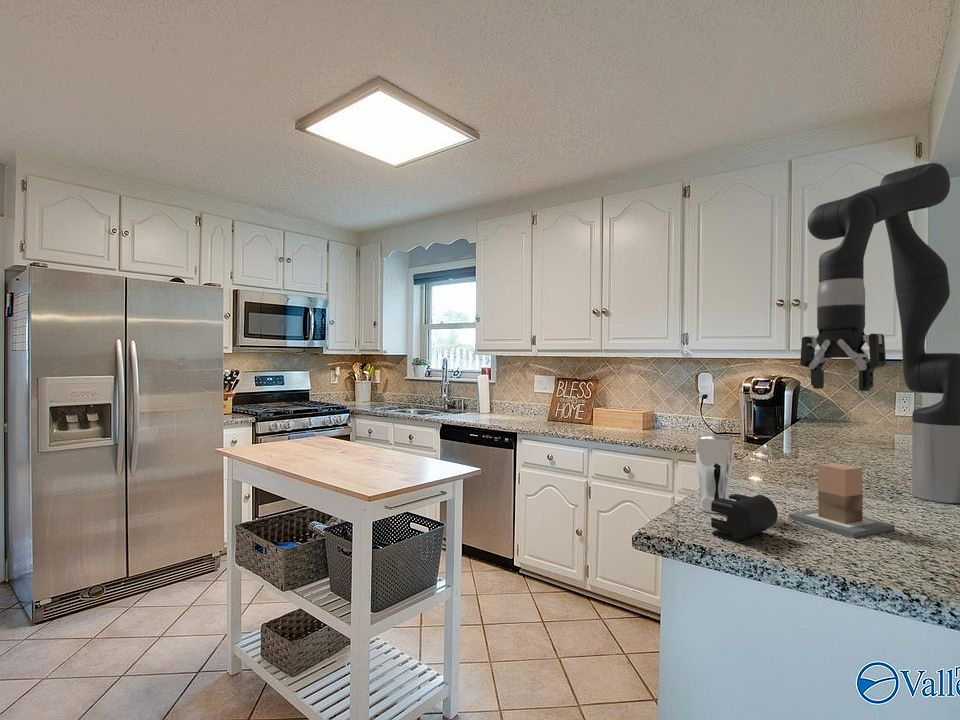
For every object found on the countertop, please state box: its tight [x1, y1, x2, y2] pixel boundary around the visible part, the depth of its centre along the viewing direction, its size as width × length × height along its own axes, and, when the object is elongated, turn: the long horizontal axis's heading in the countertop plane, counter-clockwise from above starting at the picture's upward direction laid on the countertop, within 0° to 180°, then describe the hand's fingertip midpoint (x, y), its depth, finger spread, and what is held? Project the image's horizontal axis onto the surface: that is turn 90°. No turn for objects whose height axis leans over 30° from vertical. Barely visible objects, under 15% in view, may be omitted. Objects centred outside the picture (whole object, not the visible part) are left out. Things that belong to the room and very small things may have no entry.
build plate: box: [788, 509, 896, 539], centre depth 98 cm, size 12×12×1 cm
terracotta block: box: [817, 462, 863, 497], centre depth 98 cm, size 5×5×5 cm
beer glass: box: [695, 434, 734, 515], centre depth 107 cm, size 7×7×15 cm
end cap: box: [710, 493, 779, 543], centre depth 91 cm, size 10×7×7 cm
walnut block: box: [817, 491, 864, 524], centre depth 98 cm, size 5×5×5 cm
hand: (840, 389), depth 98 cm, fingers open, 8 cm apart
